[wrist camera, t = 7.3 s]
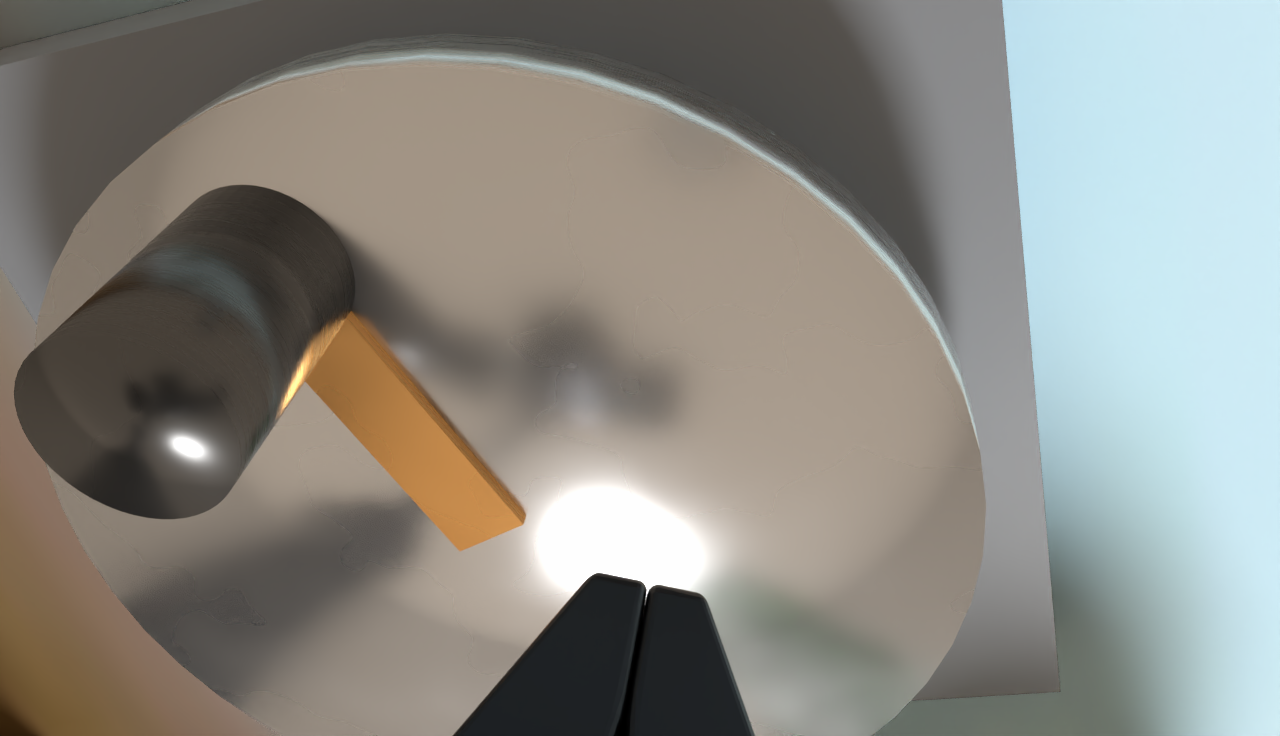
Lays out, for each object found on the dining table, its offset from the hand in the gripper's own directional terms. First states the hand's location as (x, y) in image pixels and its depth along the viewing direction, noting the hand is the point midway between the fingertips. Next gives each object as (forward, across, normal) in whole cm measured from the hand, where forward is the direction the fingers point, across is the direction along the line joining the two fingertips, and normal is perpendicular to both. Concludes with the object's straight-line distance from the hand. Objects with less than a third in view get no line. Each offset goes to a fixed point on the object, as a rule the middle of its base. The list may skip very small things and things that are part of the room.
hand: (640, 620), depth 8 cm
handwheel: (+7, +2, +6) cm, 10 cm away
